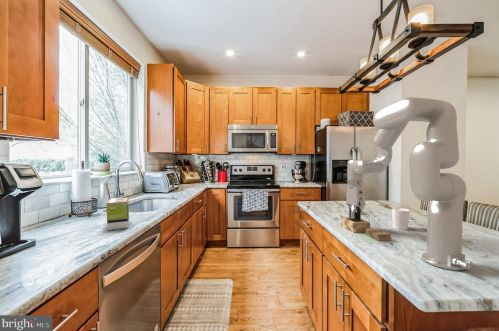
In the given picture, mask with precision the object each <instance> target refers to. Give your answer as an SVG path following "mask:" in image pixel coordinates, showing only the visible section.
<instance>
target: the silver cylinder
mask: <svg viewBox="0 0 499 331" xmlns="http://www.w3.org/2000/svg"><path fill="white" fill-rule="evenodd" d="M358 206H359V205H358ZM357 208H358V207H357ZM354 212H355V206H354V205H351V221H353V222H359V220H355V219H354Z"/></svg>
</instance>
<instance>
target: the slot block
mask: <svg viewBox="0 0 499 331" xmlns="http://www.w3.org/2000/svg"><path fill="white" fill-rule="evenodd" d="M340 227H341V228H343V229H345V230H347V231H348V232H351V233H353V234H365V233H366V229H371V222H370V221H367V220H365V219H362V218H361V219H360V220H359V222H353V221H351V217H349V216H345V217H343V216H342V217H340Z"/></svg>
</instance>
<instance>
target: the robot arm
mask: <svg viewBox="0 0 499 331" xmlns="http://www.w3.org/2000/svg"><path fill="white" fill-rule="evenodd" d="M457 120H458V118H457V110H456V108H455V106H454V105H453V104H451V102H448V101H445V100H442V99H434V98H426V97H425V98H424V97H416V96H415V97H414V96H413V97H411V96H410V97H404V98H402V99H399V100H398V101H395V102H394V103H391V104H389V105H386V106H385V107H381V109H379V110H378V111H376V113H375V114H374V116H373V119H372V123H373V126H374V127H375V128H377V129H378V130H377V132H376V133H375V135H374V136H373V138H372V142H373V144H374V145H376V147H379V148H380V149H379V152H378V154H377V156H376V157H375V159H374V158H370V159H367V158H366V159H365V158H364V159H363V158H362V159H349V160H348V161H347V170H346V173H347V175H346V176H347V177H346V178H347V185H346V188H347V189H346V204H347V206H348V217H351V205H354V206H355V212H354V219H355V220H360V219H362V218H361V216H362V214H361V213H362V210H364V208H365V206H366V193H365V187H364V176H365V175H366V176H368V175H370V176H371V175H379V174H381V173H383V172H384V171H385V170H386V169H387V168H388V166H389V165H390V163H391V161H392V159H393V146H394V144H395V143H396V142H397V141H398V138H400V136H401V134H402V133H403V131H404V130H405V128H406V127H407V125H408V124H409V122H422V123H425V122H426V123H428V125H427V128H426V133H425V135H426V141H422V142H419V143H417V144H415V146H414V147H413V148H412V149H411V151H410V154H409V157H408V158H409V159H408V161H409V162H408V163H409V164H408V165H409V180H410V188H411V192H412V194H413V195H414V196H415V198H417V199H418V200H420V201H422V202H426V203H427V202H429V203H428V206H427V213H426V215H427V217H426V221H427V222H426V223H427V224H426V252H423V253H422V254H421V260H422V261H424V262H425V263H427V264H428V265H431V266H434V267H437V268H441V269H444V270H451V271H463V270H464V271H465V270H470V269H471V267H473V265H474V264H473V262H472V261H469V260H466V255H465V254H464V253H462V252H463V219H464V217H463V215H464V214H463V213H464V205H465V200H466V195H467V184H466V182H465V180H464V179H463V178H462V177H460V176H459V175H457V174H455V173H452V172H441V170H444V169H445V170H446V169H451V168H453V167H456V165H457V164H458V162H459V160H460V152H459V150H460V148H459V136H458V128H457V127H458V125H457V124H458V122H457ZM358 205H359V206H358ZM357 207H358V208H357Z"/></svg>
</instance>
